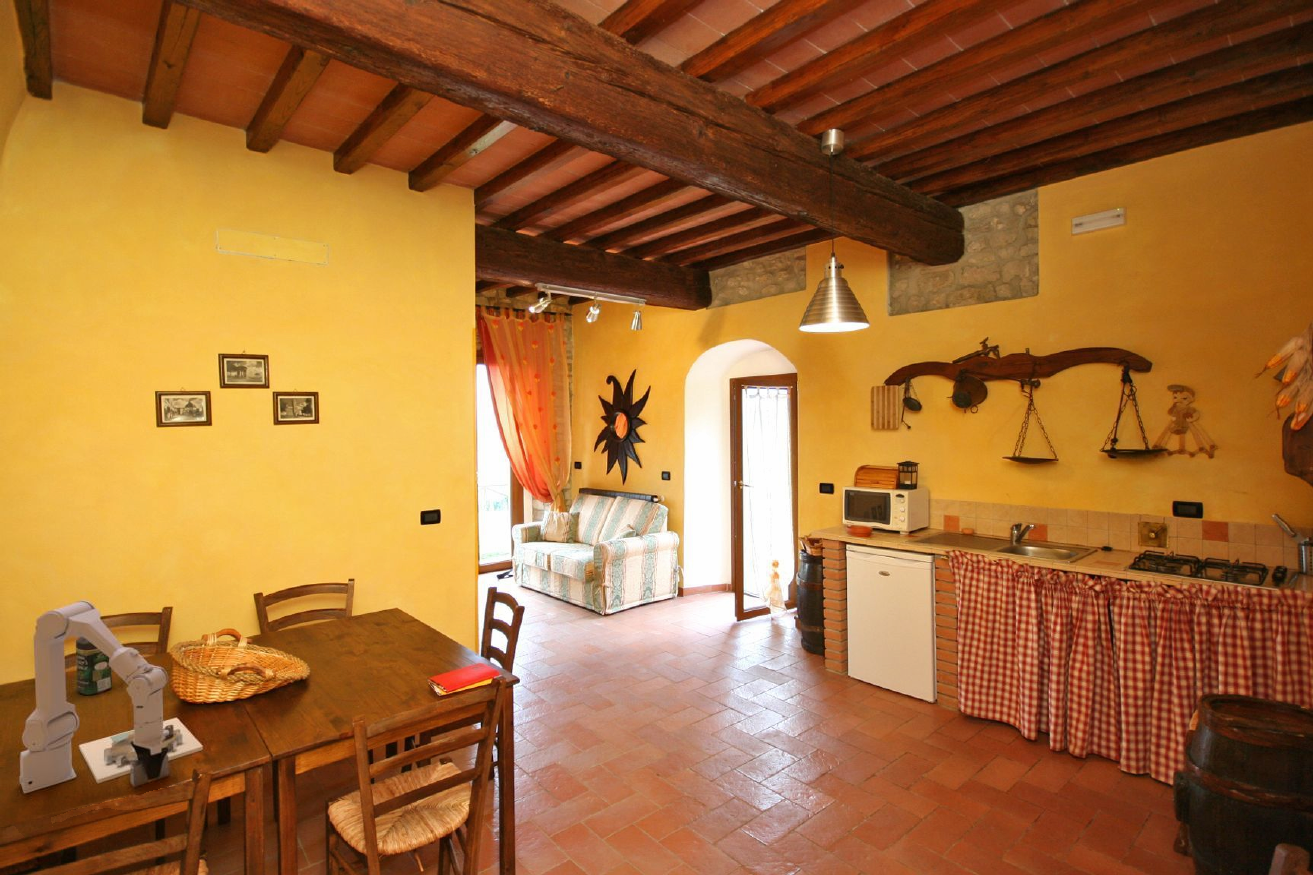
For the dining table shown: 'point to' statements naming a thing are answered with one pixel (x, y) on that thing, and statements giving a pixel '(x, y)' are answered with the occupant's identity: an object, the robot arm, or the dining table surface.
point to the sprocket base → (105, 772)
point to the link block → (139, 772)
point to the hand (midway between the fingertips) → (149, 772)
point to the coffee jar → (92, 668)
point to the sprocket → (126, 753)
